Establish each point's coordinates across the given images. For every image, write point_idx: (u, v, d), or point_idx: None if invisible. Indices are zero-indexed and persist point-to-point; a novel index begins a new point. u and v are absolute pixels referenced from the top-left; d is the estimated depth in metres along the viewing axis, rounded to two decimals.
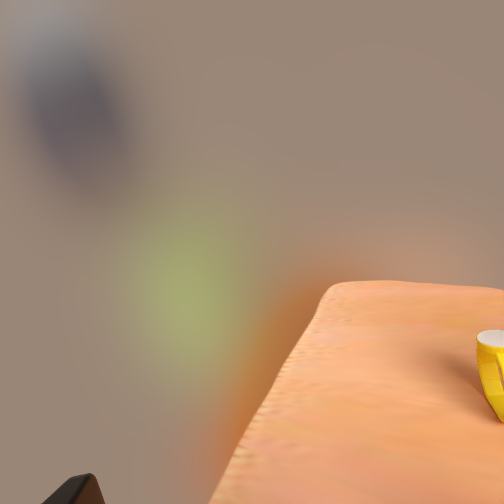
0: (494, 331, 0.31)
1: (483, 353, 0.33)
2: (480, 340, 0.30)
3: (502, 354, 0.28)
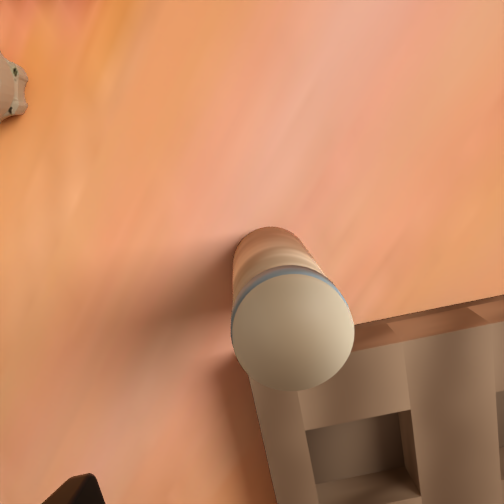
0: None
1: None
2: None
3: None
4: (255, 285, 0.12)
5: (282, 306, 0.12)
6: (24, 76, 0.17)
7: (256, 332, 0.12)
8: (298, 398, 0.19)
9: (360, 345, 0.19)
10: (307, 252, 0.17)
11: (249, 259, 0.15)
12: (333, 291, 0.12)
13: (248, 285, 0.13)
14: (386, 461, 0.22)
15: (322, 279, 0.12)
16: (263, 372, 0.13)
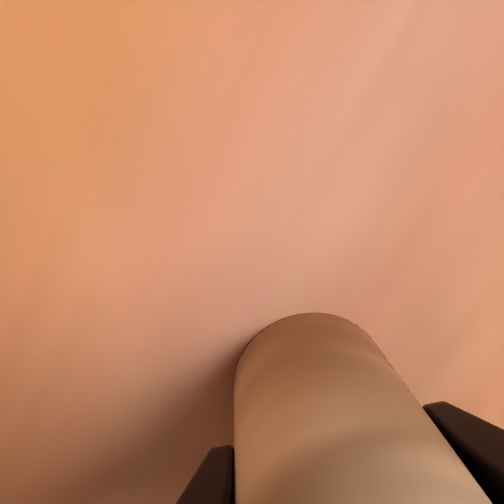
0: None
1: None
2: None
3: None
4: None
5: None
6: None
7: None
8: None
9: None
10: (427, 419, 0.06)
11: (283, 474, 0.05)
12: None
13: None
14: None
15: None
16: None
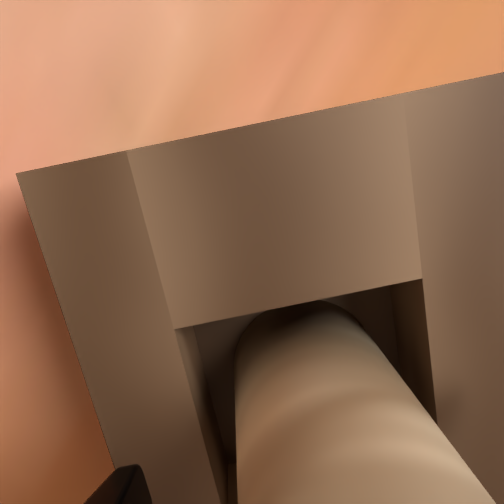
0: None
1: None
2: None
3: None
4: None
5: None
6: None
7: None
8: (151, 246, 0.08)
9: (301, 115, 0.08)
10: (405, 386, 0.07)
11: (279, 429, 0.06)
12: None
13: None
14: None
15: None
16: None
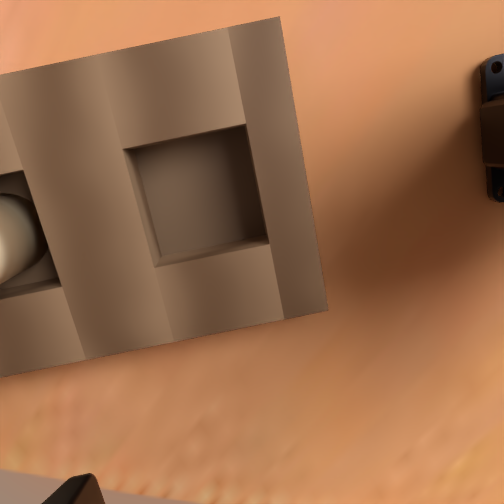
0: None
1: None
2: None
3: None
4: None
5: None
6: None
7: None
8: None
9: None
10: None
11: None
12: None
13: None
14: None
15: None
16: None
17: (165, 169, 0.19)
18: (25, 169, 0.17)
